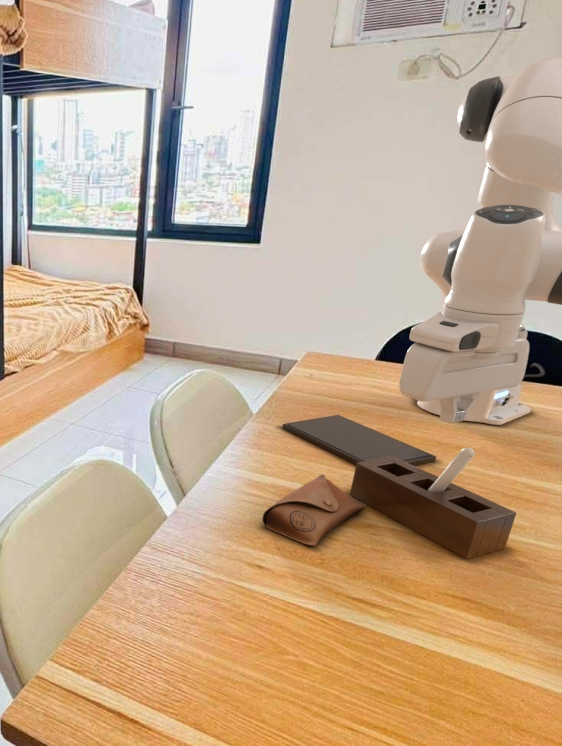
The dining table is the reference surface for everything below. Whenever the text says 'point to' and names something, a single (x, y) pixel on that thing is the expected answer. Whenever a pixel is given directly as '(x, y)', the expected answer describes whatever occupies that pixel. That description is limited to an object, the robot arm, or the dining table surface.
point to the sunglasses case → (311, 511)
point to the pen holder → (433, 507)
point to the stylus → (452, 470)
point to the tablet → (355, 440)
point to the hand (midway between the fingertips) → (452, 420)
